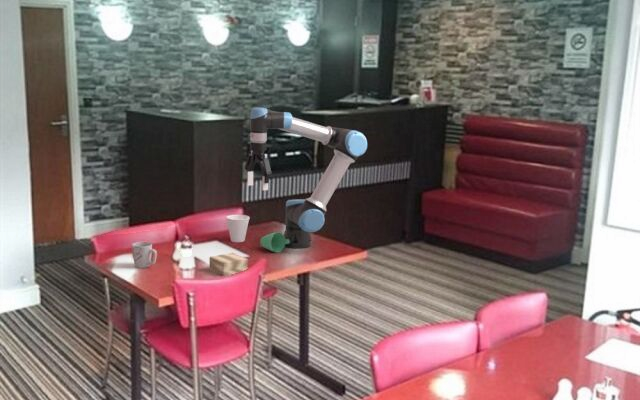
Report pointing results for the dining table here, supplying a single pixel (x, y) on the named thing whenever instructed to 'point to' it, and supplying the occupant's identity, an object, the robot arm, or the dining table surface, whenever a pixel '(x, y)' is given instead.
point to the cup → (237, 227)
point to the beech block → (228, 264)
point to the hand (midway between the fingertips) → (257, 187)
